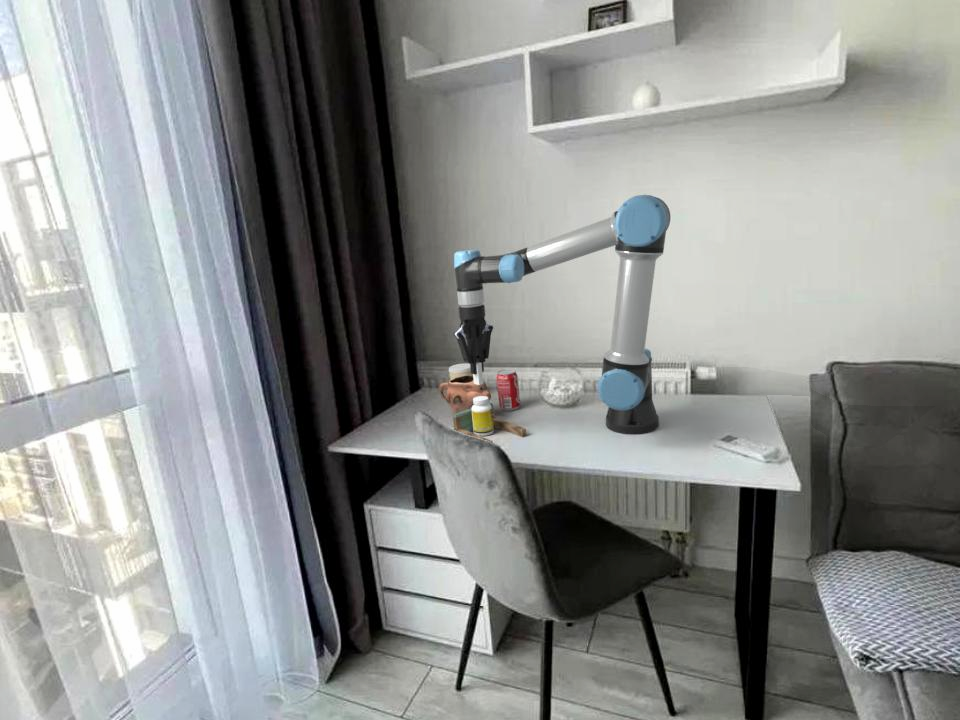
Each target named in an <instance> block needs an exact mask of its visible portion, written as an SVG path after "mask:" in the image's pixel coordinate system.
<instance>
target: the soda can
mask: <svg viewBox="0 0 960 720" xmlns="http://www.w3.org/2000/svg"><path fill="white" fill-rule="evenodd" d="M496 384H497V396H498V397H497V398H498V404H499V405H498V406H499V408H500V409H501V410H502V411H505V412H513V411H515V410H518V409H519V408H520V406H521V399H520V397H521V396H520V389H519V387H520V386H519V377H518V373H517V372H516V369H511V368H509V369H507V368H506V369H501V370H499V371H497V375H496Z"/></svg>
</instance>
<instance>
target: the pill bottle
mask: <svg viewBox="0 0 960 720" xmlns="http://www.w3.org/2000/svg"><path fill="white" fill-rule="evenodd" d="M489 402H490V400H489V398H488V397H487V396H478V397H475V398H473V403H474V405H473V406H472V421H473V431H472V432H473V433H474V434H476V435H479V436H481V437H486V436H490V435H492V434H493V433H494V430H495V427H494V426H493V416H494V413H493V414H492V406H491V405H490V404H489Z"/></svg>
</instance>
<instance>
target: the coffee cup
mask: <svg viewBox="0 0 960 720" xmlns="http://www.w3.org/2000/svg"><path fill="white" fill-rule="evenodd" d="M448 372H449V373H448V375H449V381H450V380H452V379H454V378H456V377H460V376H473V374H471V368H470V363H457V364H453V365H450V366H449V367H448Z"/></svg>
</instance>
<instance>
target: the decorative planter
mask: <svg viewBox="0 0 960 720" xmlns="http://www.w3.org/2000/svg"><path fill="white" fill-rule="evenodd" d="M444 389H447V390H446V393H445V395H444ZM438 393H439V395H440V397H441V398H442V399H444V400H445V402H446V404H447V405H448V406H449V408H450V410H451V411H452V415H453V414H455V413H458V412H461V411H464V410H467V409H470V408H472V406H473V405H474V403H473V398H475V397H478V396H487V397H488V398H489V401H490V400H491V398H492V393H491V391H490V389H489V388H488V386H487V383H486V382H485V381H484V380H483V384H481V385H477V384H474V379H473V376H460V377H456V378H454V379H452V380H450V379H449V381H448V382H442V383H441V384H440V385H439V387H438Z"/></svg>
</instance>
